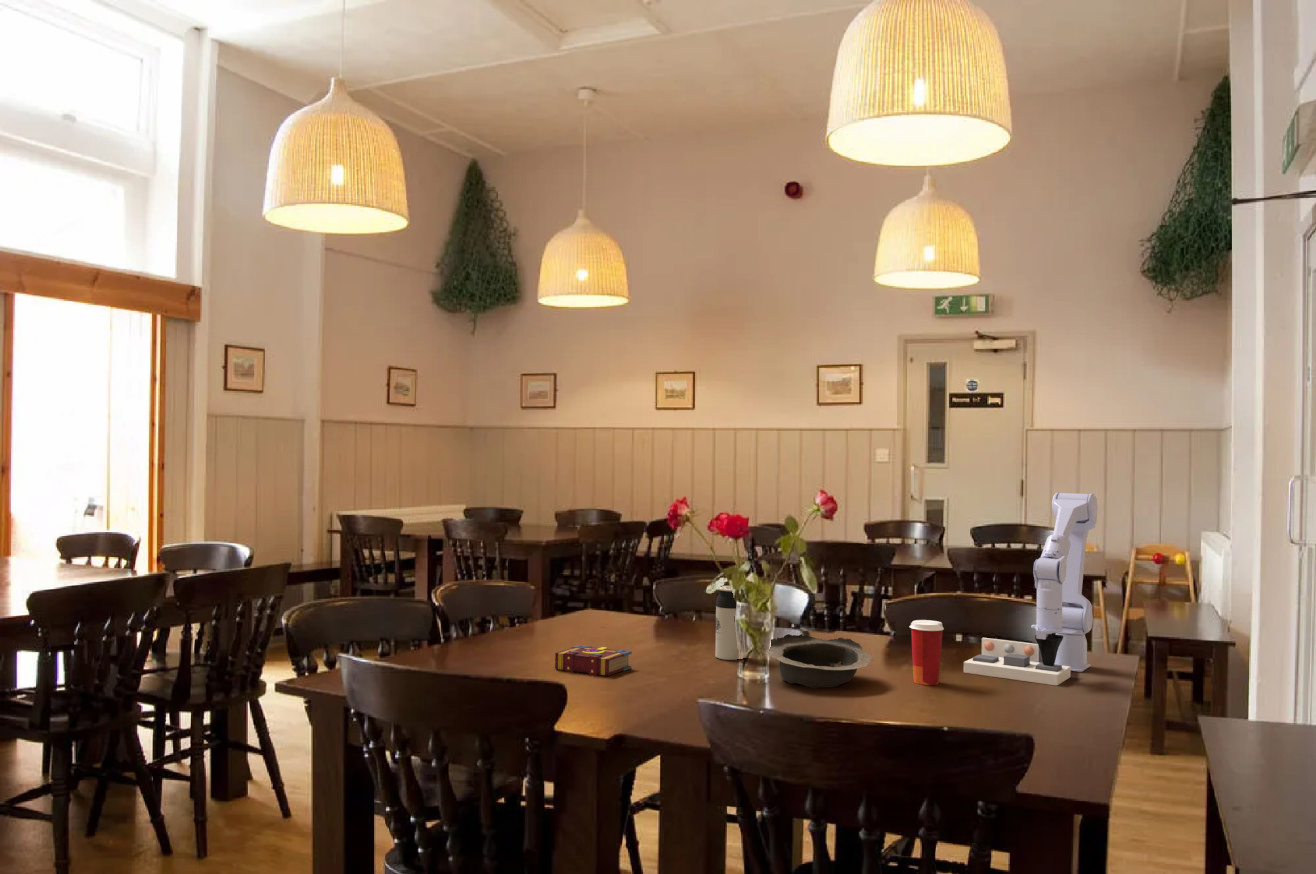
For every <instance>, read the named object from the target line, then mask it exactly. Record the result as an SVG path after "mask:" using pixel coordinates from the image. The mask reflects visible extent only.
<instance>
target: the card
mask: <svg viewBox="0 0 1316 874" xmlns="http://www.w3.org/2000/svg"><path fill="white" fill-rule="evenodd" d="M1039 652H1040V648H1039V645H1038V643H1031V642H1024V641H1016V640H1007V639H998V638H987V637H982V638H981V655H988V656H996V657H1000V658H1004V656H1005V655H1008V654H1010V653H1011V654H1019V655H1027V656H1030V661H1031V662H1039V661H1040V660H1039V659H1040V658H1039V657H1040V655H1039V654H1040V653H1039ZM1039 663H1040V662H1039Z"/></svg>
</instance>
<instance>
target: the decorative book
mask: <svg viewBox="0 0 1316 874" xmlns="http://www.w3.org/2000/svg"><path fill="white" fill-rule="evenodd" d="M632 652H633V651H632V650H625V649H609V648H608V647H606V646H601V647H594V646H590V645H583V644H582V645H581V644H578V645H574V646H572V647H571V646H570V647H569V648H567V649H564V650H561V651H558V652H555V653H554V655H555V657H554V658H555V659H554V661H555V663H554V670H562V671H564V672H567V673H574V672H577V673H585V674H588V675H589V676H599V675H600V676H606V677H607V676H611V675H614V674H617V673H619V672H620V673H621V672H622V671H623V672H624V671H628V670H630V669H632V665H631V664H629V660H630V658H629V656H630V655H632V654H633V653H632Z"/></svg>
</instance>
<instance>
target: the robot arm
mask: <svg viewBox="0 0 1316 874" xmlns="http://www.w3.org/2000/svg"><path fill="white" fill-rule="evenodd" d="M1051 510H1052V513H1053V516H1054V518H1055V524H1054V529H1053V534H1050V535H1048V537H1047V538H1046V540H1045V543H1044V546H1043V550H1042V552H1041V555H1040V557H1039V558H1038V559H1037V558H1036V559H1035V561H1034V562H1033V571H1032V573H1033V577H1034V578H1033V579H1034V588H1035V589H1036V624H1032V625H1031V626H1030V627H1031V629H1035V631H1036V632H1035V635H1034V640H1035V641H1036V644H1038V645H1039V652H1040V656H1041V660H1042V661H1041V662H1042V663H1043V665H1046V666H1054V664H1057V665H1062V666H1070V667H1071V672H1078V673H1079V672H1080V673H1083V672H1084V671H1086V670H1087V669H1089V668H1090V667H1091V666H1092V664H1090V663H1088V657H1087V656H1088V642H1087V638H1086V634H1087V633H1090V631H1091V630H1092V627H1093V623H1094V622H1093V621H1094V620H1093V619H1094V617H1093V605H1092V603H1091V602H1090V600H1089V599H1087V597H1085V596H1084V595H1083V594H1082V593H1083V591H1082V590H1083V583H1084V582H1083V580H1084V571H1085V561H1086V550H1087V539H1088V535H1089V531H1090V530H1092V529H1094V528H1096V523H1097V520H1098V499H1097V497H1096V495H1095V494H1094V493H1076V492H1075V493H1072V492H1071V493H1069V492H1060V491H1058V492H1055V493H1054V495H1053V497H1052V500H1051Z"/></svg>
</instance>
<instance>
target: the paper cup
mask: <svg viewBox="0 0 1316 874" xmlns="http://www.w3.org/2000/svg"><path fill="white" fill-rule="evenodd" d="M909 628H910V630H911V631H910V632H911V653H912V655H911V656H912V672H913V676H912V677H913V683H914V684H918V685H923V686H937V685H939V680H940V673H941V671H940V670H941V669H940V668H941V656H942V647H943V646H942V645H943V630H945V628H944V627H943V623H942V622H941V621H937V620H930V619H928V620H927V619H916V620H913V621H912V622H910V625H909Z"/></svg>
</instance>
